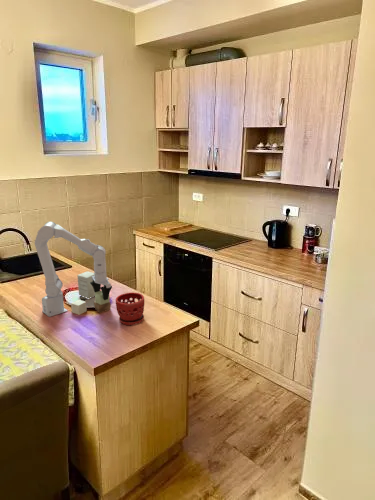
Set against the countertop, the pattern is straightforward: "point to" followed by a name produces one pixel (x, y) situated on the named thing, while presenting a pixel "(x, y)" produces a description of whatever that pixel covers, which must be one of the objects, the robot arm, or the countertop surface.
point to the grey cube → (78, 307)
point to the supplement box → (85, 284)
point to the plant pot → (130, 308)
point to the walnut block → (102, 307)
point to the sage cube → (100, 298)
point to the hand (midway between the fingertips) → (101, 297)
